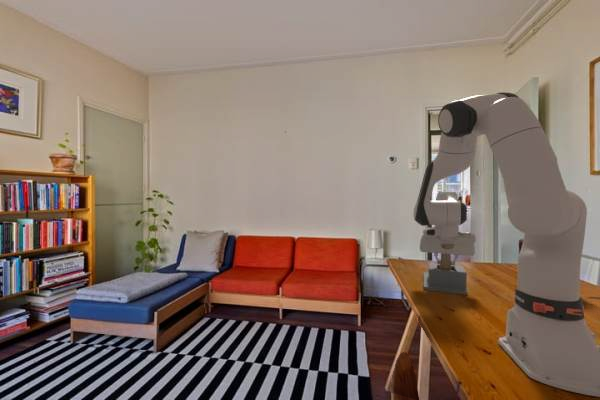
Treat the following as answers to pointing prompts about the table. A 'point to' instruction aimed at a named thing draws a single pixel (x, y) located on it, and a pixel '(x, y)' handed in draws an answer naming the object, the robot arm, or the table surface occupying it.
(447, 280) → the socket block
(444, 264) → the handle
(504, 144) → the robot arm
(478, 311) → the table surface
